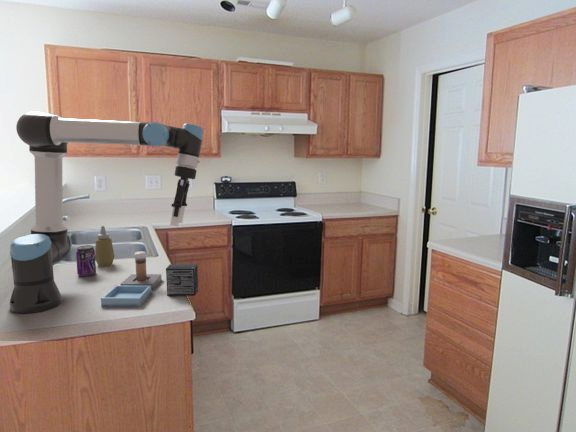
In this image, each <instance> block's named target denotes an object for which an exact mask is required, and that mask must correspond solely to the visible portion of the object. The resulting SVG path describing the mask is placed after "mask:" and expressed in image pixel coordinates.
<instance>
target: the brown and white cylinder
mask: <svg viewBox="0 0 576 432" xmlns="http://www.w3.org/2000/svg"><path fill="white" fill-rule="evenodd" d="M134 261H135V262H134V263H135V274H136V281H147V274H148V273H147V252H146V251H143V250H140V251H136V252H134Z"/></svg>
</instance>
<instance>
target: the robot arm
mask: <svg viewBox="0 0 576 432" xmlns="http://www.w3.org/2000/svg"><path fill="white" fill-rule="evenodd" d="M15 128H16V134H17V136H18V138H19V139H20V141H22V142H23V143H24V144H27V145H28V148H29V149H28V150H29V152H30V154H32V155H33V157H34V191H35V192H34V194H35V195H34V196H35V197H34V201H35V203H34V204H35V205H34V206H35V210H34V211H35V223H34V225H32V226H31V227H30V234H26V235H25V236H20V237H17V238H15V239H14V240H12V241H11V242H10V247H9V248H10V249H9V256H10V261H11V270H12V281H13V289H12V292H11V296H10V300H9V310H10V312H12V313H17V314H33V313H37V312H38V313H39V312H43V311H48V310H51V309H54V308H55V307H57V306H59V305H60V304H61V303H62V293H60V290H59V288H58V285H57V283H56V282H55V279H54V278H55V275H54V265H56V264H58V263H60V262H62V261H63V260H64V259H66V258H67V256H68V255H69V254H70V253H71V250H72V248H73V247H72V246H73V241H72V238H71V237H70V235H69V234H68V226H66V225H65V223H64V222H63V221H64V219H63V218H64V216H63V215H64V213H63V210H64V209H63V207H64V206H63V198H64V197H63V193H64V192H63V189H64V188H63V187H64V186H63V158H64V157H65V156H66V155H67V154H68V144H69V143H72V144H74V143H75V144H95V145H96V144H98V145H100V144H102V145H103V144H104V145H124V146H126V145H127V146H128V145H130V146H145V147H146V146H147V147H149V146H150V147H168V148H173V149H178V153H177V157H176V158H177V159H176V163H175V164H176V165H177V166H175V170H174V176H175V177H179V179H178V181H177V184H176V185H177V186H176V192H175V196H174V200H173V203H171V207H172V212H171V218H170V223H169V226H172V227H179V224H183V218H184V213H185V209H186V207H188V203H187V197H188V192H189V189H190V181H189V180H190V179H191V180H195V179H196V176H197V168H198V164H199V163H201V161H200V159H199V158H200V154H201V149H202V143H203V138H204V136H203V135H204V129H203V127H202V126H200V125H196V124H193V123H184V124H183V125H182V127H178V126H177V127H176V126H171V125H167V124H163V123H161V122H158V121H157V122H156V121H153V122H142V121H141V122H140V121H126V120H125V121H124V120H123V121H122V120H121V121H120V120H105V119H104V120H102V119H101V120H100V119H82V118H79V119H78V118H64V117H62V116H60V115H59V114H56V113H55V114H54V113H51V112H50V113H49V112H41V111H29V112H26V113H24V114H23V115H21V116H20V117H19V118H18V120H17V122H16V125H15Z"/></svg>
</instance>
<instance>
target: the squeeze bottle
mask: <svg viewBox="0 0 576 432" xmlns="http://www.w3.org/2000/svg"><path fill="white" fill-rule="evenodd" d="M100 227H101V228H100V233H99V234H97V239H96V240H95V249H94V250H95V263H96V264H97V266H98V267H101V268H102V267H103V268H105V267H109V266H112V265H113V263H114V260H115V252H114V248H113V247H114V246H113V240H112V239H111V238H110V234H109V233H107V231H106V228H105V225H101V226H100Z"/></svg>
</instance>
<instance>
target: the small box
mask: <svg viewBox="0 0 576 432" xmlns="http://www.w3.org/2000/svg"><path fill="white" fill-rule="evenodd" d="M165 272H166V273H165V274H166V296H167V297H185V296H186V297H188V296H189V297H195V296H196V295H197V294H198V292H199V276H198V264H197V263H190V264H189V263H187V264H186V263H185V264H184V263H183V264H181V263H179V264H177V263H176V264H175V263H173V264H171V263H170V264H168V265H167V267H166V268H165Z"/></svg>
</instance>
